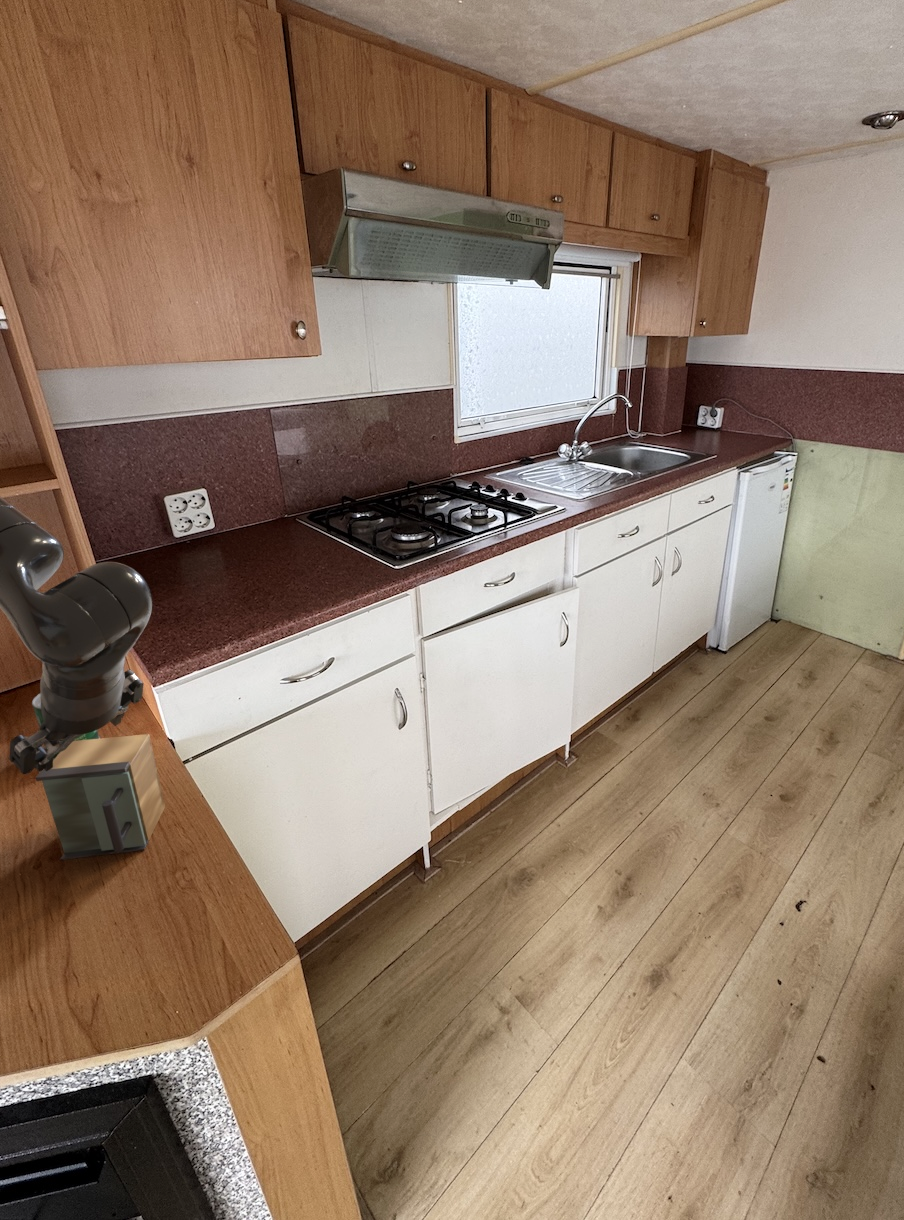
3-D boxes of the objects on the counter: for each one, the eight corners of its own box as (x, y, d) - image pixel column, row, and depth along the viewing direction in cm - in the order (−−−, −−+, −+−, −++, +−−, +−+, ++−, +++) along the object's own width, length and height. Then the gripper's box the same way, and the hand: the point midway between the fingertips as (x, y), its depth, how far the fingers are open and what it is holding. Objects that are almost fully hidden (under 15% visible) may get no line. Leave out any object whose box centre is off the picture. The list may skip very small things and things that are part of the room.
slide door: (87, 875, 80) (65, 800, 75) (102, 848, 84) (82, 775, 80) (133, 869, 81) (114, 795, 76) (146, 843, 85) (128, 771, 81)
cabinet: (60, 860, 83) (35, 777, 78) (89, 815, 91) (67, 737, 86) (144, 850, 85) (124, 768, 80) (165, 806, 93) (148, 730, 88)
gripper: (123, 630, 70) (114, 687, 81) (-13, 703, 59) (-3, 758, 70) (165, 674, 70) (151, 725, 80) (35, 756, 59) (38, 803, 69)
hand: (79, 741), depth 75 cm, fingers open, 8 cm apart
